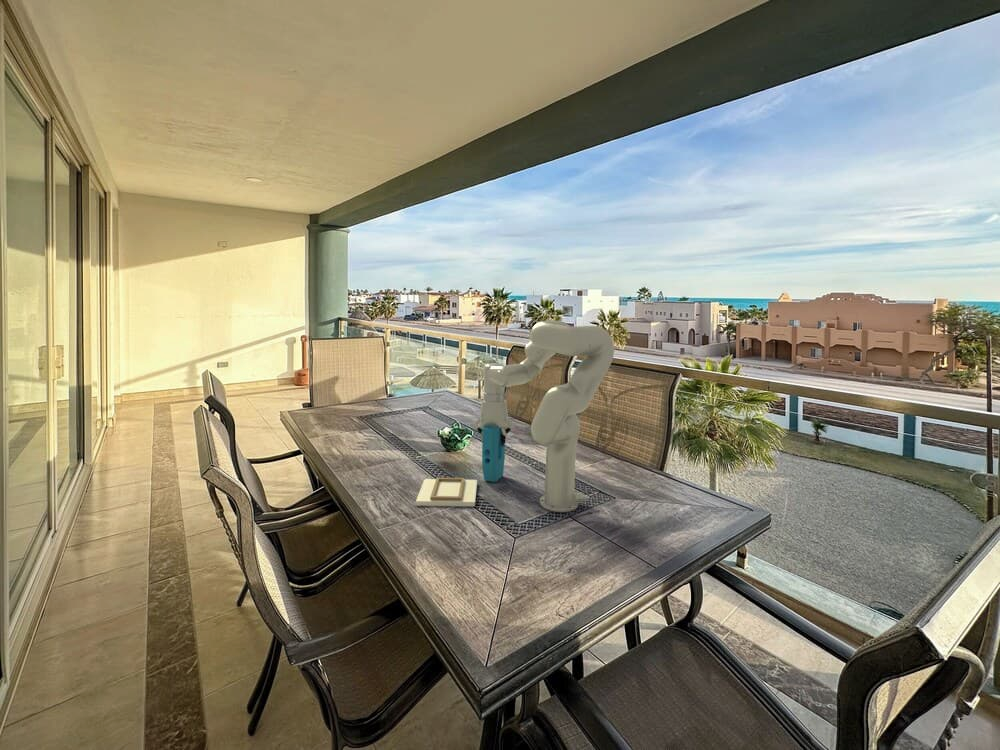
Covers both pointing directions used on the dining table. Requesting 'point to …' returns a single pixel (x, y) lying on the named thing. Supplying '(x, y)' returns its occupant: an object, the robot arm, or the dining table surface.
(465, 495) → the base board
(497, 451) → the block
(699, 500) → the dining table surface
